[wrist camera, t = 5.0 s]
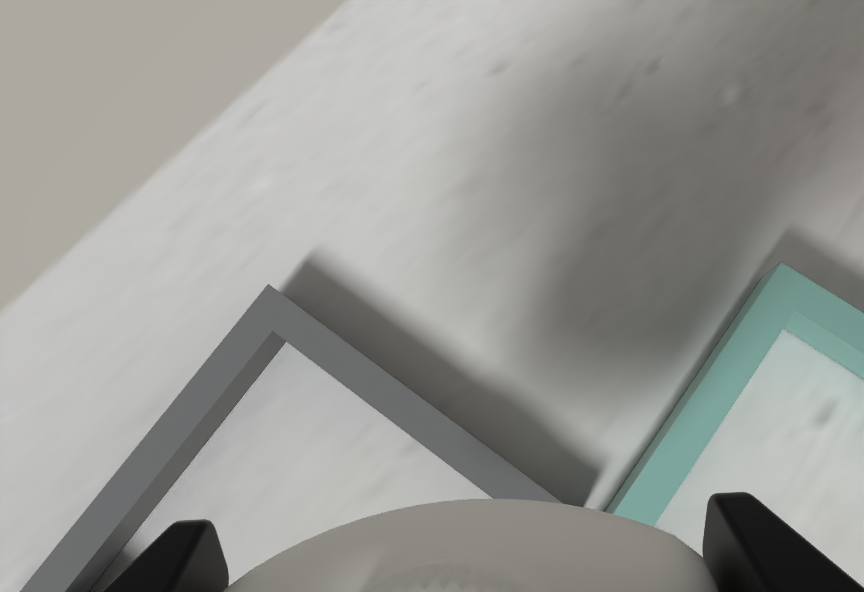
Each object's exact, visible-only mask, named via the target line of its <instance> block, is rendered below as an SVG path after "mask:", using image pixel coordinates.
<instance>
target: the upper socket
mask: <svg viewBox="0 0 864 592" xmlns="http://www.w3.org/2000/svg"><path fill="white" fill-rule="evenodd" d="M286 341H287V342H288V343H289V344H291V345H292V346H293V347H295V348H296V349H297V350H299V351H300V352H301V353H302V354H304V355H305V356H306V357H308V358H309V359H310V360H312V361H313V362H314V363H316V364H317V365H318V366H320V367H321V368H322V369H324V370H325V371H326V372H327V373H329V374H330V375H331V376H333V377H334V378H335V379H337V380H338V381H339V382H341V383H342V384H343V385H345V386H346V387H347V388H349V389H350V390H351V391H352V392H354V393H355V394H356V395H358V396H359V397H360V398H362V399H363V400H364V401H366V402H367V403H368V404H370V405H371V406H372V407H374V408H375V409H376V410H377V411H379V412H380V413H381V414H383V415H384V416H385V417H387V418H388V419H389V420H391V421H392V422H393V423H395V424H396V425H397V426H399V427H400V428H401V429H402V430H404V431H405V432H406V433H408V434H409V435H410V436H412V437H413V438H414V439H416V440H417V441H418V442H420V443H421V444H422V445H424V446H425V447H426V448H427V449H429V450H430V451H431V452H433V453H434V454H435V455H437V456H438V457H439V458H441V459H442V460H443V461H445V462H446V463H447V464H449V465H450V466H451V467H453V468H454V469H455V470H456V471H458V472H459V473H460V474H462V475H463V476H464V477H466V478H467V479H468V480H470V481H471V482H472V483H474V484H475V485H476V486H478V487H479V488H480V489H481V490H483V491H484V492H485V493H487V494H488V495H489V496H491V497H492V498H493V499H519V500H535V501H544V502H553V503H561V504H563V503H562V502H561V501H559V500H558V499H557V498H555V497H554V496H553V495H551V494H550V493H549V492H547V491H546V490H545V489H543V488H542V487H541V486H539V485H538V484H537V483H535V482H534V481H533V480H531V479H530V478H529V477H527V476H526V475H524V474H523V473H522V472H520V471H519V470H518V469H516V468H515V467H514V466H512V465H511V464H510V463H508V462H507V461H506V460H504V459H503V458H502V457H500V456H499V455H498V454H496V453H495V452H494V451H492V450H491V449H490V448H488V447H487V446H485V445H484V444H483V443H481V442H480V441H479V440H477V439H476V438H475V437H473V436H472V435H471V434H469V433H468V432H467V431H465V430H464V429H463V428H461V427H460V426H459V425H457V424H456V423H455V422H453V421H452V420H451V419H449V418H448V417H446V416H445V415H444V414H442V413H441V412H440V411H438V410H437V409H436V408H434V407H433V406H432V405H430V404H429V403H428V402H426V401H425V400H424V399H422V398H421V397H420V396H418V395H417V394H416V393H414V392H413V391H412V390H410V389H409V388H407V387H406V386H405V385H403V384H402V383H401V382H399V381H398V380H397V379H395V378H394V377H393V376H391V375H390V374H389V373H387V372H386V371H385V370H383V369H382V368H381V367H379V366H378V365H377V364H375V363H374V362H373V361H371V360H370V359H368V358H367V357H366V356H364V355H363V354H362V353H360V352H359V351H358V350H356V349H355V348H354V347H352V346H351V345H350V344H348V343H347V342H346V341H344V340H343V339H342V338H340V337H339V336H338V335H336V334H335V333H334V332H332V331H331V330H329V329H328V328H327V327H325V326H324V325H323V324H321V323H320V322H319V321H317V320H316V319H315V318H313V317H312V316H311V315H309V314H308V313H307V312H305V311H304V310H303V309H301V308H300V307H299V306H297V305H296V304H295V303H293V302H292V301H290V300H289V299H288V298H286V297H285V296H284V295H282V294H281V293H280V292H278V291H277V290H276V289H274V288H273V287H272V286H270V285H269V284H268V285H267V286H266V287H265V289H264V290H263V291H262V292H261V294H260V295H259V296H258V297H257V299H256V300H255V301H254V302H253V304H252V305H251V306H250V307H249V308H248V310H247V311H246V312H245V313H244V315H243V316H242V317H241V318H240V320H239V321H238V322H237V323H236V325H235V326H234V327H233V328H232V330H231V331H230V332H229V333H228V334H227V336H226V337H225V338H224V339H223V341H222V342H221V343H220V344H219V346H218V347H217V348H216V349H215V351H214V352H213V353H212V354H211V356H210V357H209V358H208V359H207V360H206V362H205V363H204V364H203V365H202V367H201V368H200V369H199V370H198V372H197V373H196V374H195V375H194V377H193V378H192V379H191V380H190V382H189V383H188V384H187V385H186V386H185V388H184V389H183V390H182V391H181V393H180V394H179V395H178V396H177V398H176V399H175V400H174V401H173V403H172V404H171V405H170V406H169V408H168V409H167V410H166V411H165V412H164V414H163V415H162V416H161V417H160V419H159V420H158V421H157V422H156V424H155V425H154V426H153V427H152V429H151V430H150V431H149V432H148V434H147V435H146V436H145V437H144V438H143V440H142V441H141V442H140V443H139V445H138V446H137V447H136V448H135V450H134V451H133V452H132V453H131V455H130V456H129V457H128V458H127V460H126V461H125V462H124V463H123V464H122V466H121V467H120V468H119V469H118V471H117V472H116V473H115V474H114V476H113V477H112V478H111V479H110V481H109V482H108V483H107V484H106V486H105V487H104V488H103V489H102V490H101V492H100V493H99V494H98V495H97V497H96V498H95V499H94V500H93V502H92V503H91V504H90V505H89V507H88V508H87V509H86V510H85V512H84V513H83V514H82V515H81V516H80V518H79V519H78V520H77V521H76V523H75V524H74V525H73V526H72V528H71V529H70V530H69V531H68V533H67V534H66V535H65V536H64V538H63V539H62V540H61V541H60V542H59V544H58V545H57V546H56V547H55V549H54V550H53V551H52V552H51V554H50V555H49V556H48V557H47V559H46V560H45V561H44V562H43V564H42V565H41V566H40V567H39V568H38V570H37V571H36V572H35V573H34V575H33V576H32V577H31V578H30V580H29V581H28V582H27V583H26V585H25V586H24V587H23V588H22V590H21V591H20V592H91V591H89V590H90V589H91V587H92V586H93V585H94V584H95V582H96V581H97V580H98V578H99V577H100V576H101V575H102V573H103V572H104V571H105V570H106V568H107V567H108V566H109V565H110V563H111V562H112V561H113V560H114V558H115V557H116V556H117V554H118V553H119V552H120V551H121V549H122V548H123V547H124V546H125V544H126V543H127V542H128V541H129V539H130V538H131V537H132V535H133V534H134V533H135V532H136V530H137V529H138V528H139V527H140V525H141V524H142V523H143V522H144V520H145V519H146V518H147V516H148V515H149V514H150V513H151V511H152V510H153V509H154V508H155V506H156V505H157V504H158V503H159V501H160V500H161V499H162V497H163V496H164V495H165V494H166V492H167V491H168V490H169V489H170V487H171V486H172V485H173V484H174V482H175V481H176V480H177V478H178V477H179V476H180V475H181V473H182V472H183V471H184V470H185V468H186V467H187V466H188V465H189V463H190V462H191V461H192V460H193V458H194V457H195V456H196V454H197V453H198V452H199V451H200V449H201V448H202V447H203V446H204V444H205V443H206V442H207V441H208V439H209V438H210V437H211V435H212V434H213V433H214V432H215V430H216V429H217V428H218V427H219V425H220V424H221V423H222V422H223V420H224V419H225V418H226V416H227V415H228V414H229V413H230V411H231V410H232V409H233V408H234V406H235V405H236V404H237V403H238V401H239V400H240V399H241V397H242V396H243V395H244V394H245V392H246V391H247V390H248V389H249V387H250V386H251V385H252V384H253V382H254V381H255V380H256V379H257V377H258V376H259V375H260V373H261V372H262V371H263V370H264V368H265V367H266V366H267V365H268V363H269V362H270V361H271V360H272V358H273V357H274V356H275V354H276V353H277V352H278V351H279V349H280V348H281V347H282V346H283V344H284V343H285V342H286Z"/></svg>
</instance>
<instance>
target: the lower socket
mask: <svg viewBox="0 0 864 592" xmlns="http://www.w3.org/2000/svg"><path fill="white" fill-rule="evenodd" d="M783 328H784V329H785V330H787V331H789V332H790V333H792V334H793V335H795V336H796V337H798V338H800V339H801V340H803V341H804V342H806V343H807V344H809V345H811V346H812V347H814V348H815V349H817V350H818V351H820V352H822V353H823V354H825V355H826V356H828V357H829V358H831V359H833V360H834V361H836V362H837V363H839V364H840V365H842V366H844V367H845V368H847V369H848V370H850V371H851V372H853V373H855V374H856V375H858V376H859V377H861V378H862V379H864V313H863V312H861V311H860V310H858V309H856V308H855V307H853V306H852V305H850V304H848V303H847V302H845V301H843V300H842V299H840V298H839V297H837V296H835V295H834V294H832V293H830V292H829V291H827V290H826V289H824V288H822V287H821V286H819V285H818V284H816V283H814V282H813V281H811V280H809V279H808V278H806V277H805V276H803V275H801V274H800V273H798V272H796V271H795V270H793V269H792V268H790V267H788V266H787V265H785V264H783V263H782V262H781V263H780V264H778V265H777V266H776V267H775V268H773V269H772V270H771V271H769V272H768V273H767V274H766V275H764V276H763V277H762V278H761V280H760V281H759V283H758V284H757V286H756V287H755V289H754V290H753V292H752V293H751V295H750V296H749V298H748V299H747V301H746V302H745V304H744V305H743V307H742V308H741V310H740V311H739V313H738V314H737V316H736V317H735V319H734V320H733V322H732V323H731V325H730V326H729V328H728V329H727V331H726V332H725V334H724V335H723V337H722V338H721V340H720V341H719V343H718V344H717V345H716V347H715V348H714V350H713V351H712V353H711V354H710V356H709V357H708V359H707V360H706V362H705V363H704V365H703V366H702V368H701V369H700V371H699V372H698V374H697V375H696V377H695V378H694V380H693V381H692V383H691V384H690V386H689V387H688V389H687V390H686V392H685V393H684V395H683V396H682V398H681V399H680V401H679V402H678V404H677V405H676V407H675V408H674V410H673V411H672V413H671V414H670V416H669V417H668V418H667V420H666V421H665V423H664V424H663V426H662V427H661V429H660V430H659V432H658V433H657V435H656V436H655V438H654V439H653V441H652V442H651V444H650V445H649V447H648V448H647V450H646V451H645V453H644V454H643V456H642V457H641V459H640V460H639V462H638V463H637V465H636V466H635V468H634V469H633V471H632V472H631V474H630V475H629V477H628V478H627V480H626V481H625V483H624V484H623V486H622V487H621V489H620V490H619V492H618V493H617V494H616V496H615V497H614V499H613V500H612V502H611V503H610V505H609V506H608V508H607V509H606V511H605V512H606V513H610V514H614V515H618V516H622V517H625V518H628V519H631V520H635V521H638V522H641V523H645V524H648V525H650V526H652V527H653V526H654V525H655V523H656V522H657V520H658V519H659V517H660V516H661V514H662V513H663V511H664V510H665V508H666V507H667V505H668V504H669V502H670V500H671V499H672V497H673V496H674V494H675V493H676V491H677V490H678V488H679V487H680V485H681V484H682V482H683V481H684V479H685V478H686V476H687V475H688V473H689V472H690V470H691V468H692V467H693V465H694V464H695V462H696V461H697V459H698V458H699V456H700V455H701V453H702V452H703V450H704V449H705V447H706V446H707V444H708V443H709V441H710V439H711V438H712V436H713V435H714V433H715V432H716V430H717V429H718V427H719V426H720V424H721V423H722V421H723V420H724V418H725V417H726V415H727V414H728V412H729V411H730V409H731V407H732V406H733V404H734V403H735V401H736V400H737V398H738V397H739V395H740V394H741V392H742V391H743V389H744V388H745V386H746V385H747V383H748V382H749V380H750V378H751V377H752V375H753V374H754V372H755V371H756V369H757V368H758V366H759V365H760V363H761V362H762V360H763V359H764V357H765V356H766V354H767V353H768V351H769V350H770V348H771V346H772V345H773V343H774V342H775V340H776V339H777V337H778V336H779V334H780V333H781V331H782V330H783Z"/></svg>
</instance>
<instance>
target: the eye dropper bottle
mask: <svg viewBox="0 0 864 592" xmlns="http://www.w3.org/2000/svg"><path fill="white" fill-rule="evenodd" d="M223 592H718V588H717V584H716V582H715V580H714V578H713V576H712V574H711V572H710V570H709V569H708V567H707V565H706V563H705V561H704V559H703V557H702V556H700V555H699V554H698V553H697V552H696V551H694V550H693V549H692V548H690V547H689V546H688V545H686V544H685V543H684V542H682V541H681V540H680V539H678V538H677V537H676V536H675V535H672V534H670V533H667V532H665V531H662V530H660V529H657V528H655V527H652V526H650V525H648V524H645V523H641V522H638V521H635V520H631V519H628V518H625V517H622V516H618V515H614V514H610V513H606V512H602V511H598V510H594V509H589V508H584V507H578V506H572V505H567V504H561V503H553V502H544V501H535V500H519V499H469V500H456V501H444V502H437V503H430V504H423V505H416V506H412V507H407V508H402V509H397V510H393V511H388V512H384V513H381V514H377V515H374V516H370V517H366V518H363V519H359V520H356V521H354V522H351V523H348V524H345V525H342V526H339V527H336V528H334V529H331V530H329V531H326V532H324V533H322V534H319V535H317V536H315V537H312V538H310V539H308V540H305V541H303V542H301V543H299V544H297V545H295V546H293V547H291V548H289V549H287V550H285V551H283V552H281V553H279V554H278V555H276V556H274V557H272V558H271V559H269V560H267V561H266V562H264V563H262V564H260V565H259V566H257V567H255V568H254V569H252V570H251V571H249V572H248V573H246V574H245V575H244V576H242V577H241V578H239V579H238V580H237V581H235V582H234V583H233V584H231V585H230V586H229V587H227V588H226V589H225V590H224V591H223Z"/></svg>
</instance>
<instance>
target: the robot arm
mask: <svg viewBox="0 0 864 592" xmlns="http://www.w3.org/2000/svg"><path fill="white" fill-rule="evenodd" d="M703 559H704V561H705V563H706V565H707V567H708V569H709V570H710V572H711V574H712V576H713V578H714V580H715V582H716V584H717V588H718V592H864V588H863V587H862V586H861V585H860V584H859V583H857V582H856V581H855V580H854V579H853V578H851V577H850V576H849V575H848V574H847V573H845V572H844V571H843V570H842V569H841V568H839V567H838V566H837V565H836V564H835V563H833V562H832V561H831V560H830V559H829V558H827V557H826V556H825V555H824V554H823V553H821V552H820V551H819V550H818V549H817V548H815V547H814V546H813V545H812V544H811V543H809V542H808V541H807V540H806V539H805V538H803V537H802V536H801V535H800V534H799V533H797V532H796V531H795V530H794V529H793V528H791V527H790V526H789V525H788V524H787V523H785V522H784V521H783V520H782V519H780V518H779V517H778V516H777V515H776V514H774V513H773V512H772V511H771V510H770V509H768V508H767V507H766V506H765V505H764V504H762V503H761V502H760V501H759V500H758V499H756V498H755V497H754V496H752V495H751V494H749V493H746V492H734V493H716V494H713V495H712V496H711V497H710V499H709V501H708V505H707V513H706V521H705V529H704V537H703ZM228 584H229V574H228V568H227V564H226V561H225V558H224V554H223V551H222V548H221V545H220V542H219V539H218V535H217V532H216V529H215V527H214V525H213V524H212V522H211V521H209V520H205V519H203V520H184V521H177V522H175V523H173V524H172V525H171V526H169V527H168V528H167V529H166V530H165V531H164V532H163V533H162V534H161V535H160V536H159V537H158V538H157V539H156V540H155V541H154V542H153V543H152V544H151V545H149V546H148V547H147V548H146V549H145V550H144V551H143V552H142V553H141V554H140V555H139V556H138V557H137V558H136V559H135V560H134V561H133V562H132V563H131V564H130V565H129V566H128V567H127V568H125V569H124V570H123V571H122V572H121V573H120V574H119V575H118V576H117V577H116V578H115V579H114V580H113V581H112V582H111V583H110V584H109V585H108V586H107V587H106V588H105V589H104V590H103V591H101V592H223V591H224V590H225V589H226V588H227V587H228Z"/></svg>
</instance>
